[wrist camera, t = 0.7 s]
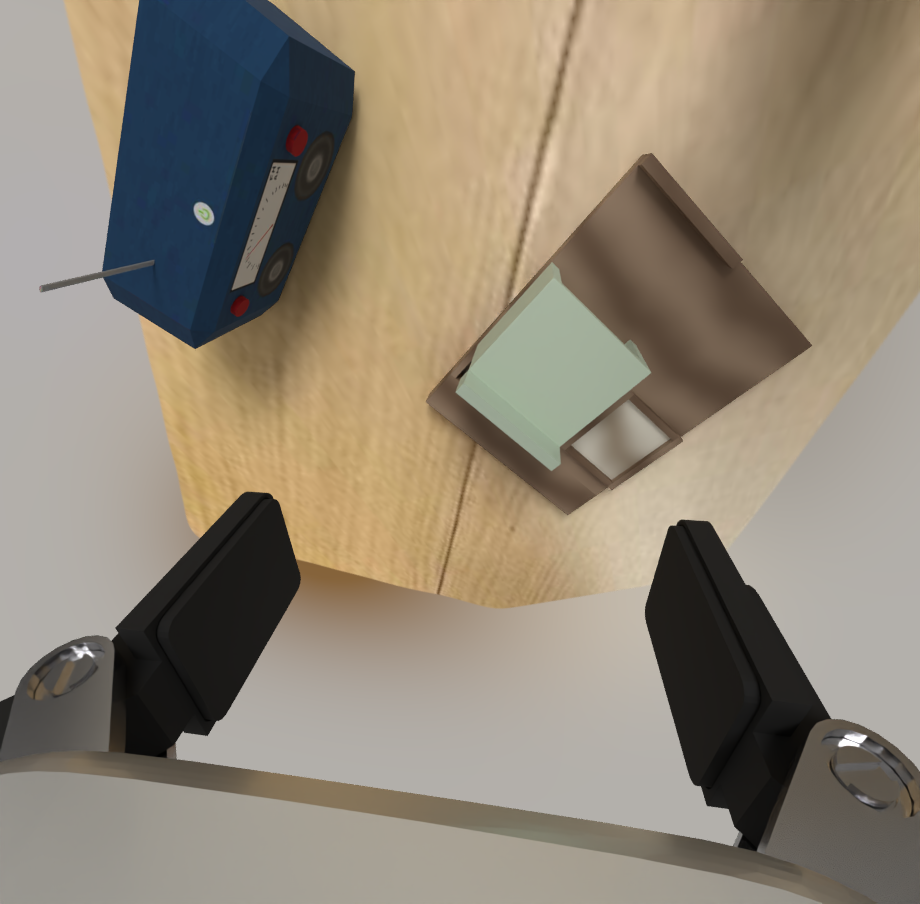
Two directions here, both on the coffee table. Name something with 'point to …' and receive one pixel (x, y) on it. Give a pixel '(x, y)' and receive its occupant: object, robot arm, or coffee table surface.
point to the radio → (218, 162)
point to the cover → (549, 369)
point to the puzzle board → (646, 335)
